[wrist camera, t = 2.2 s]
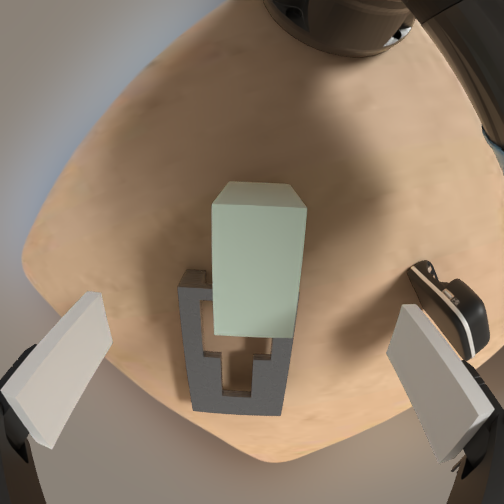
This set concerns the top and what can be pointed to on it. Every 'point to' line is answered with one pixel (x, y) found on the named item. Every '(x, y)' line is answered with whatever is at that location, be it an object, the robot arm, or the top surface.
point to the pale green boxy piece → (257, 259)
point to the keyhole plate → (210, 363)
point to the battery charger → (452, 309)
